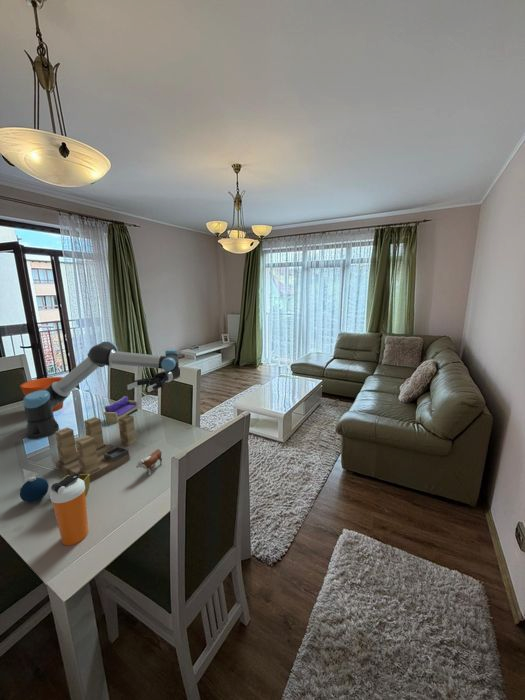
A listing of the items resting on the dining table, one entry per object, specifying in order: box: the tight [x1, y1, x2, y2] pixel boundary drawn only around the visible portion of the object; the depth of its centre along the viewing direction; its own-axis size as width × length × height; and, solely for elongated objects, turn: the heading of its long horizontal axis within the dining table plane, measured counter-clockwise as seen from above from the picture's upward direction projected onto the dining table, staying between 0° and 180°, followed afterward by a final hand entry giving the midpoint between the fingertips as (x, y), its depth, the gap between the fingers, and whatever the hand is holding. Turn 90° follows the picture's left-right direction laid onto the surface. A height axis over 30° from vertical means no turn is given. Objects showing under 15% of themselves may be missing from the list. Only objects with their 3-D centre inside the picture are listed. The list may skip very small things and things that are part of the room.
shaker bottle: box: [49, 474, 89, 546], centre depth 87 cm, size 9×9×20 cm
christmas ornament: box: [19, 475, 49, 503], centre depth 105 cm, size 8×8×10 cm
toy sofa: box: [103, 395, 139, 424], centre depth 180 cm, size 21×9×10 cm, turn 167°
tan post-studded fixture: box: [54, 416, 131, 484], centre depth 127 cm, size 24×20×17 cm
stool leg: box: [118, 414, 137, 447], centre depth 146 cm, size 5×5×14 cm
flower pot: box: [60, 474, 90, 498], centre depth 103 cm, size 9×9×9 cm
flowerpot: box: [19, 376, 64, 413], centre depth 191 cm, size 25×25×20 cm
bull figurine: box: [135, 449, 163, 477], centre depth 122 cm, size 4×13×8 cm, turn 158°
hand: (137, 388), depth 151 cm, fingers open, 13 cm apart
